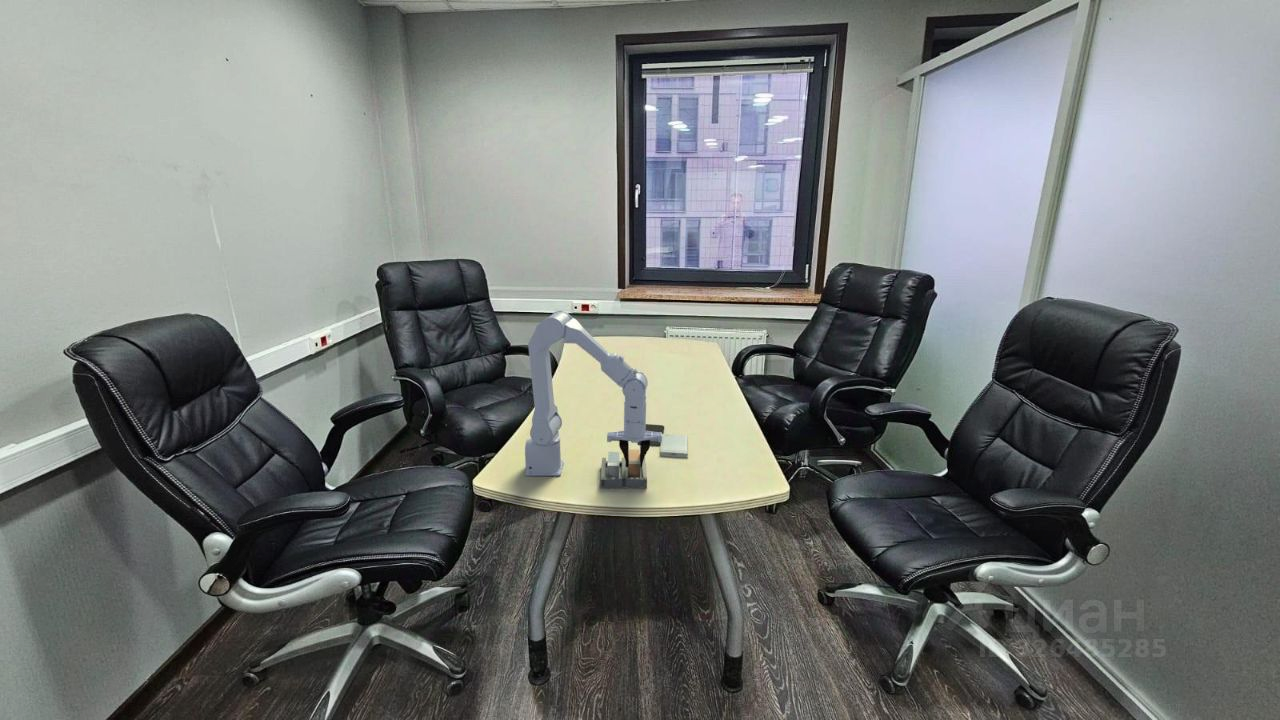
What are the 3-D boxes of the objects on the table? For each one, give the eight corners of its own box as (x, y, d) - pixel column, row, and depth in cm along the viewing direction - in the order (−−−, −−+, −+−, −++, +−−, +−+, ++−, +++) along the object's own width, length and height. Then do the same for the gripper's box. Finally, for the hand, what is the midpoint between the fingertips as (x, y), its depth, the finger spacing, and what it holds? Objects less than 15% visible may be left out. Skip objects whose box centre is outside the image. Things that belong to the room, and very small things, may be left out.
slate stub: (607, 481, 138) (607, 465, 137) (608, 466, 146) (608, 451, 144) (619, 481, 138) (619, 465, 137) (619, 466, 146) (619, 451, 144)
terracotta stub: (628, 479, 138) (628, 463, 136) (628, 464, 146) (628, 449, 144) (640, 479, 138) (640, 463, 137) (639, 464, 146) (639, 449, 144)
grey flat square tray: (600, 488, 136) (600, 479, 135) (602, 465, 147) (602, 457, 146) (646, 488, 136) (647, 479, 135) (644, 465, 148) (645, 457, 147)
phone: (636, 444, 160) (642, 423, 174) (636, 446, 160) (642, 426, 175) (660, 445, 159) (664, 425, 173) (660, 448, 159) (664, 427, 174)
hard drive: (661, 433, 165) (659, 451, 153) (687, 435, 164) (687, 453, 153) (661, 438, 166) (659, 456, 154) (687, 440, 165) (687, 458, 153)
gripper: (606, 424, 133) (606, 472, 137) (663, 424, 133) (661, 472, 137) (607, 413, 139) (607, 459, 143) (661, 414, 140) (660, 459, 144)
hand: (634, 465), depth 141 cm, fingers closed on terracotta stub, 3 cm apart
